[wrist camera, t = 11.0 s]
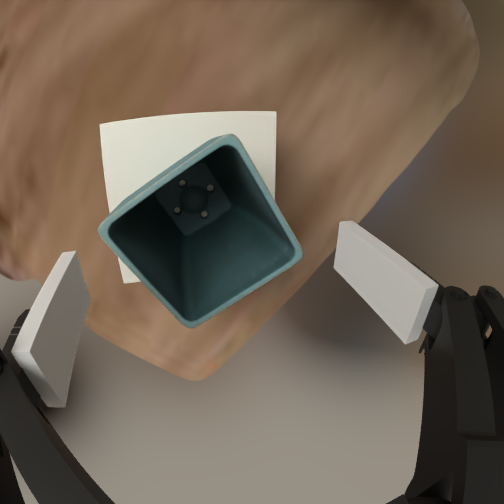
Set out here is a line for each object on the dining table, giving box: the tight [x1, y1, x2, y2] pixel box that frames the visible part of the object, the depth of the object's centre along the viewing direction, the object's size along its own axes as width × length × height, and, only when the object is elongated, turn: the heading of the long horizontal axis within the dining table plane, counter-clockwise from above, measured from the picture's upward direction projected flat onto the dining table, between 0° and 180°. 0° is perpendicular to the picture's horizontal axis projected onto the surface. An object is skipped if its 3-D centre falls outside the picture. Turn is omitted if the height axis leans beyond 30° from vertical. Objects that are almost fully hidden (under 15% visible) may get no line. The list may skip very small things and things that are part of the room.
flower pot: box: [98, 134, 303, 328], centre depth 20 cm, size 9×9×9 cm
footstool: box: [100, 111, 276, 283], centre depth 27 cm, size 14×14×8 cm
